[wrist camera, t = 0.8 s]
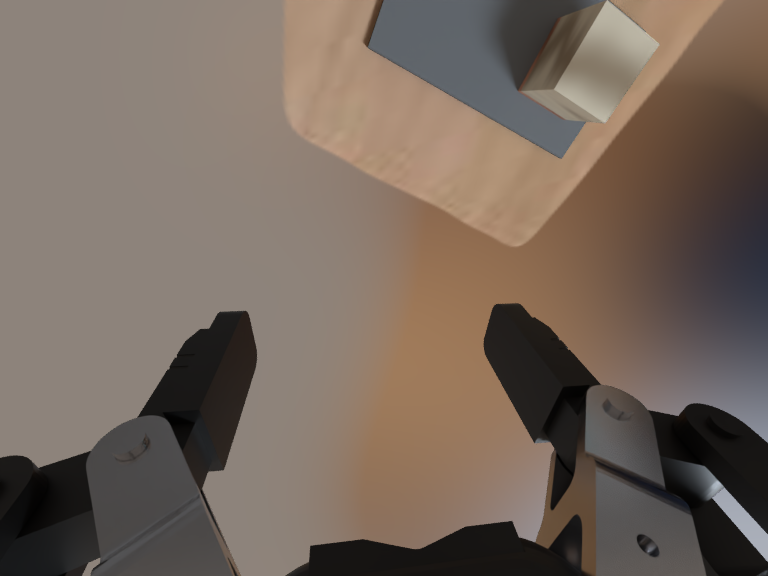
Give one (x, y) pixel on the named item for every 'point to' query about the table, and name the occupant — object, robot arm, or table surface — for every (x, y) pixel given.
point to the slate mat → (480, 56)
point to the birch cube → (588, 63)
